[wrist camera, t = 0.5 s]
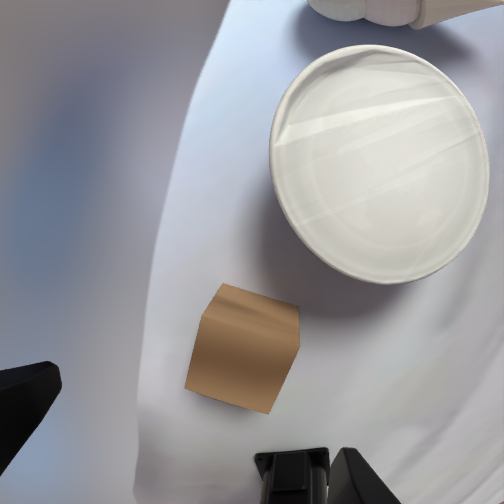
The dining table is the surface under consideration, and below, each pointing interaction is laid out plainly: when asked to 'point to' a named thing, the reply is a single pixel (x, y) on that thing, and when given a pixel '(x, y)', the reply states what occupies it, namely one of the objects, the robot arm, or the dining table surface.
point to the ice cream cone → (399, 10)
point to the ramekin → (379, 164)
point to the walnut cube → (244, 348)
